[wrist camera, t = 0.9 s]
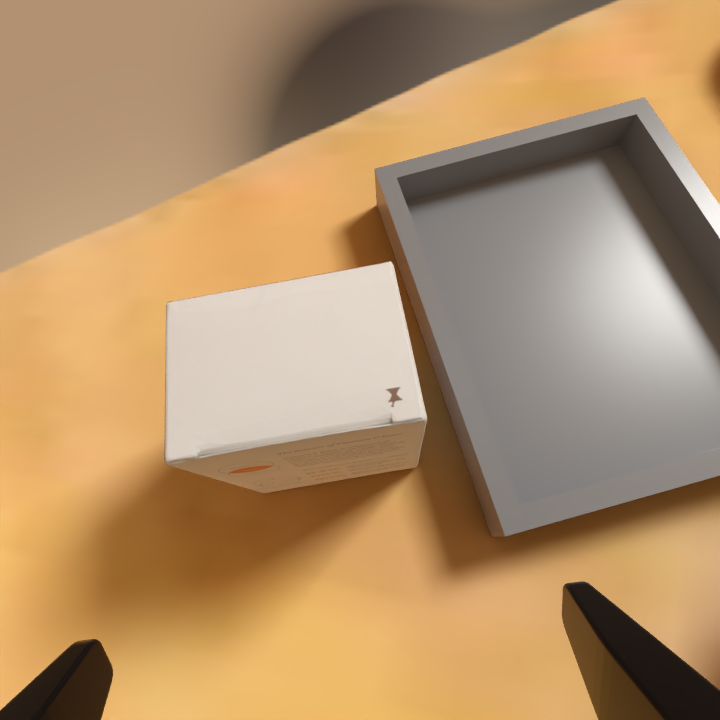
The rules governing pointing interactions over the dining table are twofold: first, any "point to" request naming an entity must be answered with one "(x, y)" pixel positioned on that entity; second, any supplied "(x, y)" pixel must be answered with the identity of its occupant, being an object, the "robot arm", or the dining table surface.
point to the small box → (293, 382)
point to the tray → (566, 310)
